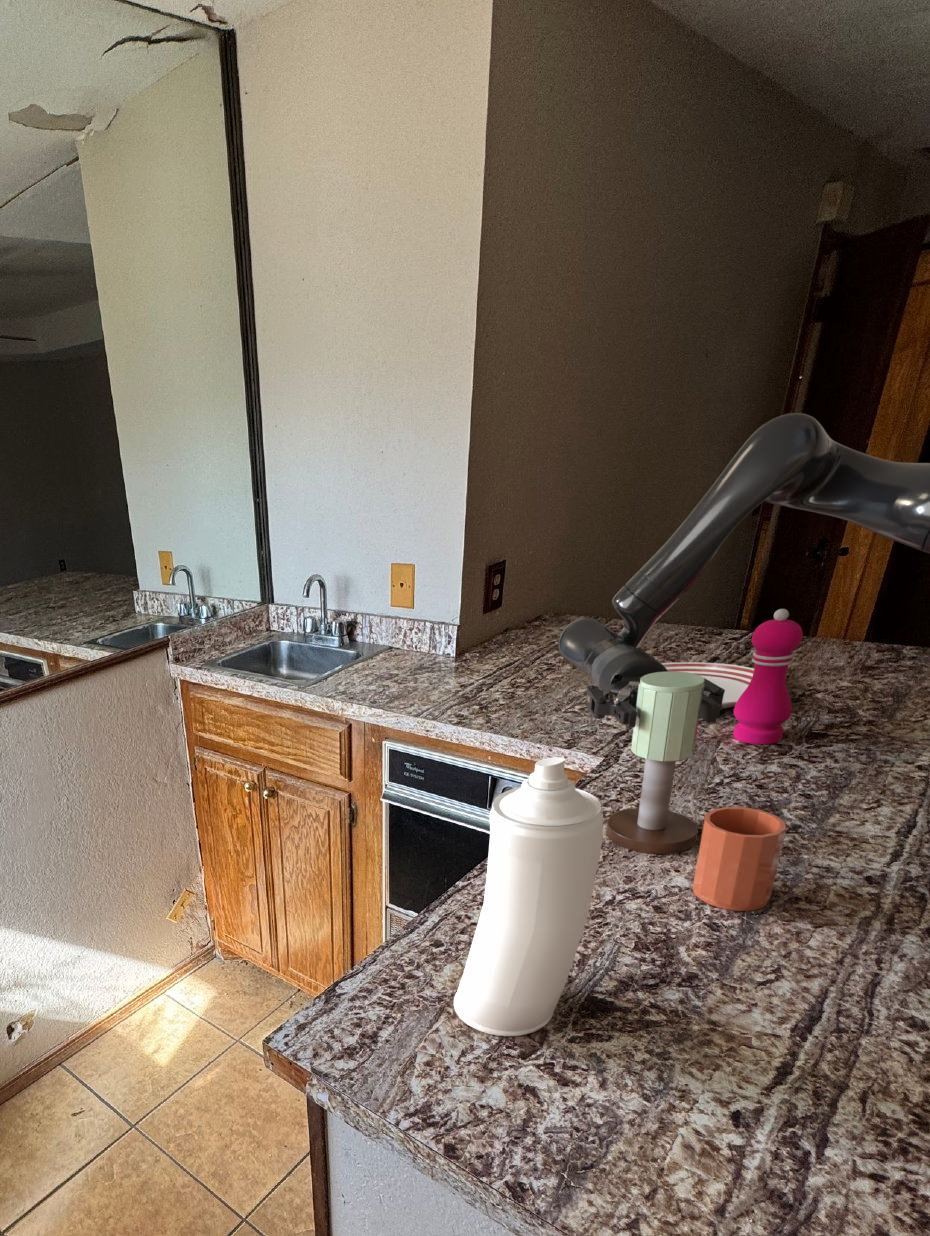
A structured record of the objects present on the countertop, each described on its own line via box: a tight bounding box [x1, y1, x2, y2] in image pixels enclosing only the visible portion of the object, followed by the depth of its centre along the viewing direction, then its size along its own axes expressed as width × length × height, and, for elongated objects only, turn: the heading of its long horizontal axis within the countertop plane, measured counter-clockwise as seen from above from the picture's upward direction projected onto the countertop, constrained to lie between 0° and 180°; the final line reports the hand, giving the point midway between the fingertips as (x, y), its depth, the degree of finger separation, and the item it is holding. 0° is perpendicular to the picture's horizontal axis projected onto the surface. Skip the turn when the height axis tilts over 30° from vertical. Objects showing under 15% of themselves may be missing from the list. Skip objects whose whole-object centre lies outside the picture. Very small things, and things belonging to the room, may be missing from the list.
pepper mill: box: [732, 608, 804, 745], centre depth 112 cm, size 7×7×20 cm
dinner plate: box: [660, 661, 754, 710], centre depth 135 cm, size 28×27×3 cm
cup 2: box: [692, 806, 787, 912], centre depth 79 cm, size 7×7×9 cm
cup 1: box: [630, 671, 704, 762], centre depth 88 cm, size 6×6×9 cm
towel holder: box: [605, 759, 699, 855], centre depth 90 cm, size 10×10×20 cm
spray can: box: [453, 756, 604, 1037], centre depth 66 cm, size 12×11×25 cm
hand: (673, 717), depth 86 cm, fingers open, 8 cm apart
